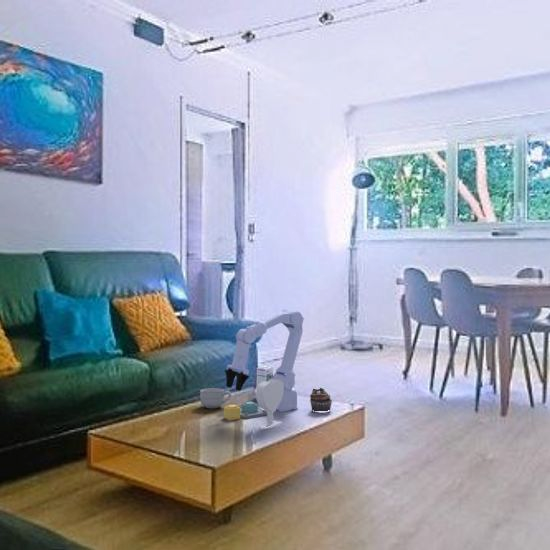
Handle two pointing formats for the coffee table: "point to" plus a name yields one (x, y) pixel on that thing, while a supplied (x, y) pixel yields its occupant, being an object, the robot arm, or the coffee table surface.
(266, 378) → the syrup box
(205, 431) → the coffee table surface
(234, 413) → the ochre brick
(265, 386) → the heart sculpture
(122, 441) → the coffee table surface
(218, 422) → the coffee table surface
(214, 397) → the teacup
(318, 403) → the cupcake
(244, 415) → the base plate
